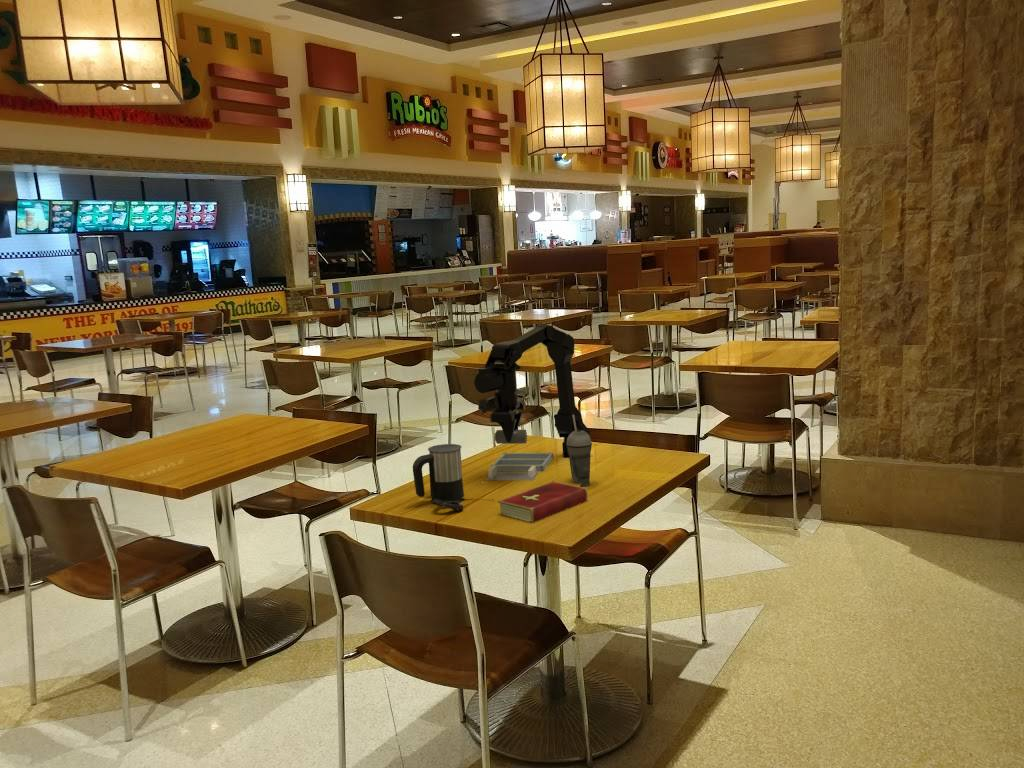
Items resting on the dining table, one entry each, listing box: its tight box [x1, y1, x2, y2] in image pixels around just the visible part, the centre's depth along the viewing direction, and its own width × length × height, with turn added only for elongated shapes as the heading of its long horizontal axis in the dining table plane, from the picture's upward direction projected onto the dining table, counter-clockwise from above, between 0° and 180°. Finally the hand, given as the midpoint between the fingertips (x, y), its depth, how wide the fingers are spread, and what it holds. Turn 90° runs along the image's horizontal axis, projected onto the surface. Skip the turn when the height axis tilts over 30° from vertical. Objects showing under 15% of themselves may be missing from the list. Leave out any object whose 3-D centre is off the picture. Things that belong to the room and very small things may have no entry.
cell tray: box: [490, 452, 554, 472], centre depth 255 cm, size 16×15×2 cm
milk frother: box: [412, 443, 466, 512], centre depth 221 cm, size 14×16×15 cm
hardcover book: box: [497, 481, 588, 524], centre depth 214 cm, size 12×21×4 cm, turn 135°
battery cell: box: [493, 429, 528, 445], centre depth 241 cm, size 9×4×4 cm, turn 76°
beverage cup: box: [566, 415, 593, 487], centre depth 231 cm, size 7×7×20 cm
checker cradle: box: [485, 466, 539, 481], centre depth 242 cm, size 14×8×3 cm, turn 76°
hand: (510, 440), depth 241 cm, fingers closed on battery cell, 4 cm apart
